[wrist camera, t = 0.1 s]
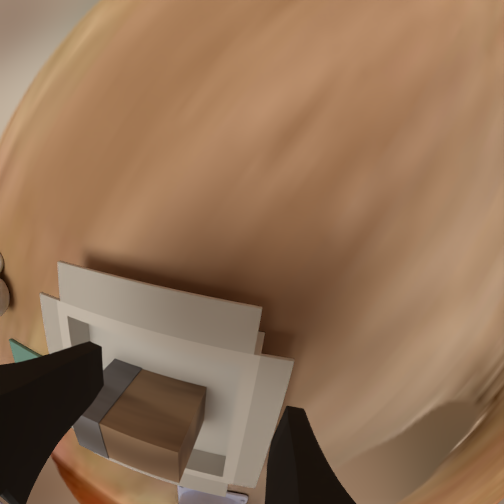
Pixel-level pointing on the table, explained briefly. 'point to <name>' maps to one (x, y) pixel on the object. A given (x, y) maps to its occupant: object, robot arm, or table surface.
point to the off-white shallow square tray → (182, 362)
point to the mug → (3, 291)
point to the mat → (21, 352)
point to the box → (144, 420)
